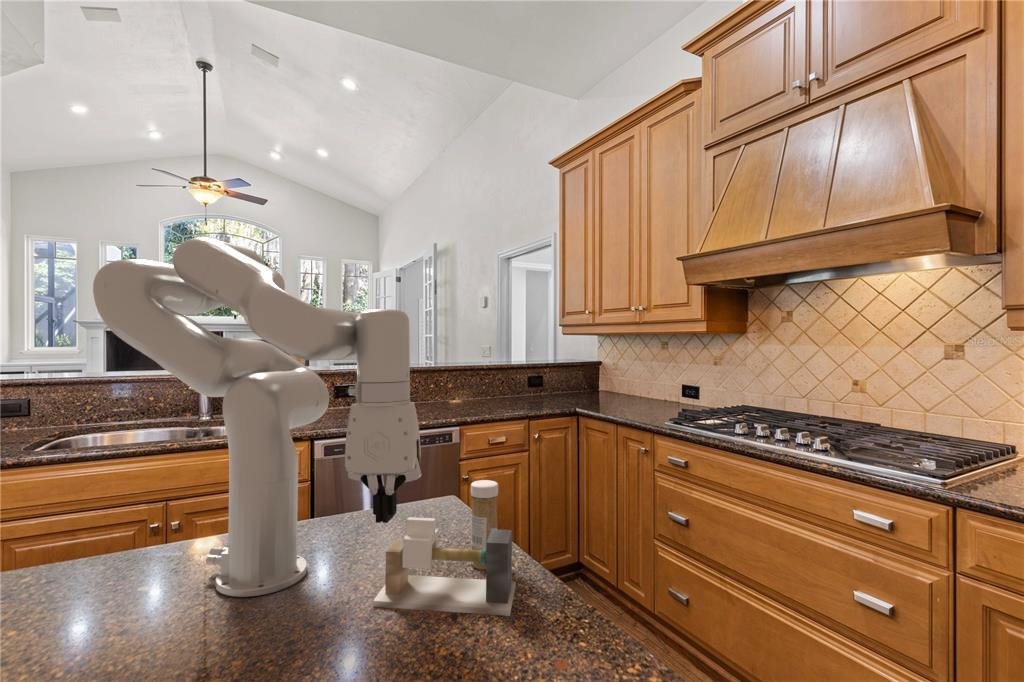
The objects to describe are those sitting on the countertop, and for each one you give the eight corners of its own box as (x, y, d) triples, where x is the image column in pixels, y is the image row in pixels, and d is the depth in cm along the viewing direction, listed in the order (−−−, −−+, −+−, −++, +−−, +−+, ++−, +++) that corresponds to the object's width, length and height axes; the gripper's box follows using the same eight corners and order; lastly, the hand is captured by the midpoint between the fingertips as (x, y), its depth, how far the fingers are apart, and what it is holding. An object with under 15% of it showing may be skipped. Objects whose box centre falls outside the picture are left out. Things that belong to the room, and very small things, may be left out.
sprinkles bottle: (502, 566, 81) (503, 484, 81) (478, 573, 78) (479, 488, 78) (488, 556, 84) (489, 477, 85) (465, 562, 82) (465, 481, 82)
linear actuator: (372, 606, 68) (373, 541, 68) (393, 579, 76) (393, 520, 76) (509, 615, 66) (510, 548, 66) (515, 586, 74) (516, 526, 74)
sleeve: (402, 567, 69) (403, 523, 69) (411, 555, 73) (412, 513, 73) (430, 569, 69) (430, 524, 69) (437, 556, 73) (438, 514, 73)
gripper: (322, 396, 69) (323, 527, 69) (426, 396, 68) (427, 530, 67) (346, 392, 77) (347, 510, 76) (440, 391, 75) (441, 512, 75)
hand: (385, 519), depth 72 cm, fingers closed
